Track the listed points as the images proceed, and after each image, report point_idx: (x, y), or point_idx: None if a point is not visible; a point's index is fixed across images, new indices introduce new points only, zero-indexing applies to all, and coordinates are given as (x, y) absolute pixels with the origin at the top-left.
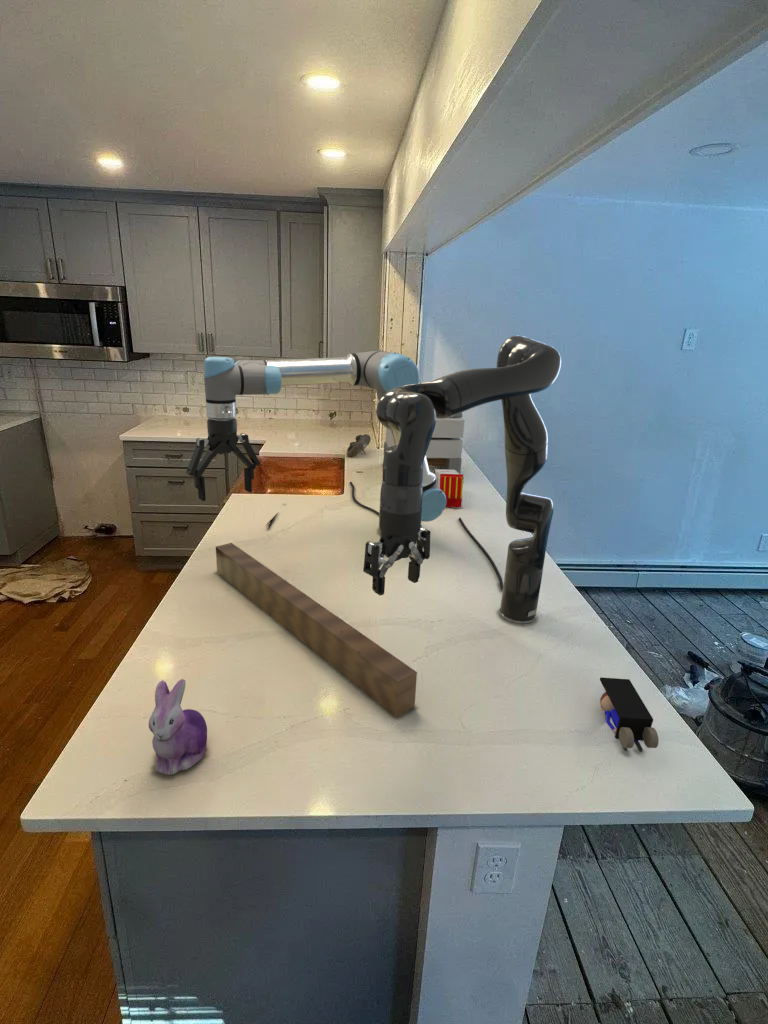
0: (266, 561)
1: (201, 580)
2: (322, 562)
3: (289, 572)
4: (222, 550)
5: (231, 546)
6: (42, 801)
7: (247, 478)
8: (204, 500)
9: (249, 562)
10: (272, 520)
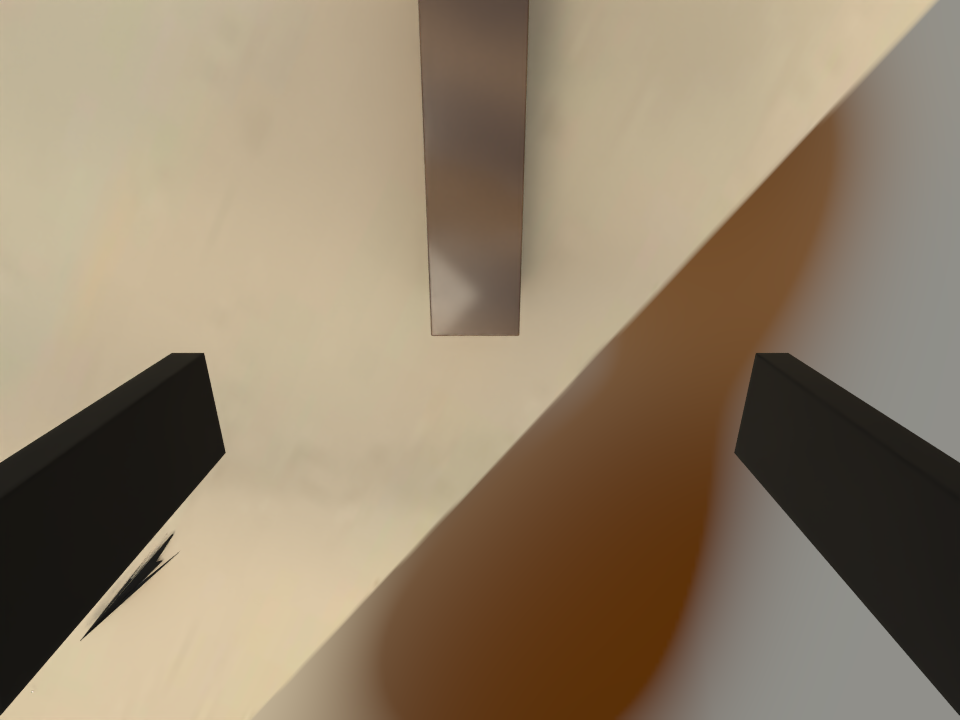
0: (293, 279)
1: (591, 271)
2: (56, 116)
3: (244, 114)
4: (514, 271)
5: (453, 292)
6: None
7: (99, 482)
8: (773, 353)
9: (469, 22)
10: (129, 580)
